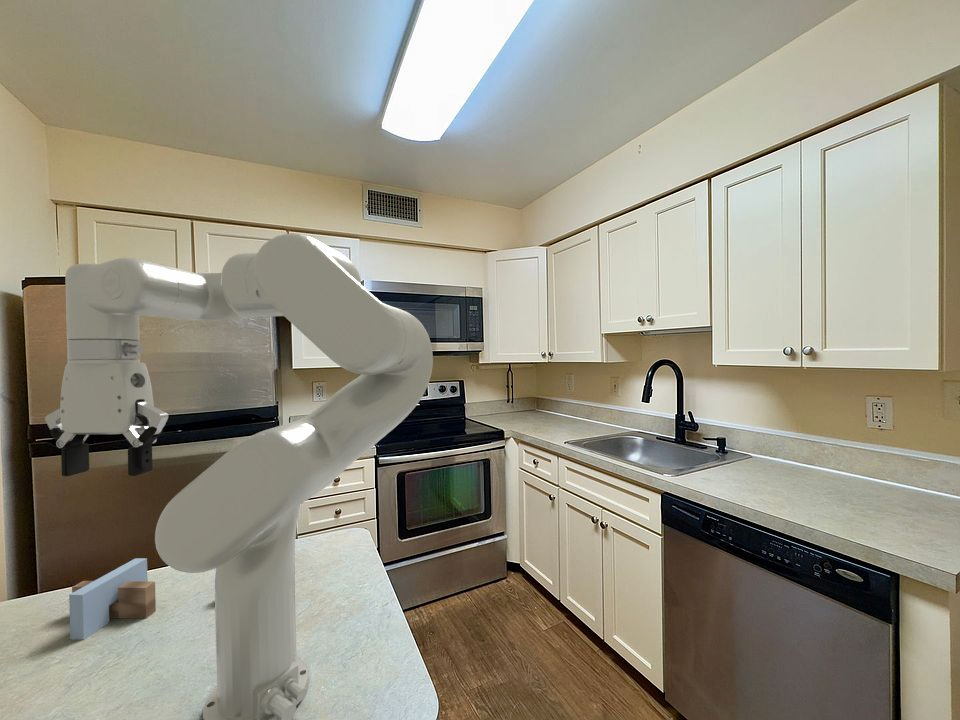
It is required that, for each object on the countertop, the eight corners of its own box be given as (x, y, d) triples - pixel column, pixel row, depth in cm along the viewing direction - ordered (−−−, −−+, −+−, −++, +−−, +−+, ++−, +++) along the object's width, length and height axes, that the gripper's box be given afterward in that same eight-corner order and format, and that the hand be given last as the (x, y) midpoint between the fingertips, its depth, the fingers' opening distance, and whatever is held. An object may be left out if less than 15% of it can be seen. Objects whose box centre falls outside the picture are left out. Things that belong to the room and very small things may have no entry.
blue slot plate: (136, 596, 78) (135, 558, 78) (147, 596, 78) (147, 558, 78) (70, 639, 66) (69, 594, 66) (83, 639, 66) (82, 594, 66)
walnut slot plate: (155, 611, 74) (155, 581, 73) (146, 618, 72) (145, 587, 71) (84, 610, 74) (83, 580, 74) (72, 617, 72) (71, 587, 72)
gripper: (184, 352, 60) (187, 466, 60) (75, 354, 61) (78, 466, 61) (139, 352, 52) (142, 481, 52) (16, 354, 53) (19, 482, 53)
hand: (108, 473), depth 57 cm, fingers open, 9 cm apart
